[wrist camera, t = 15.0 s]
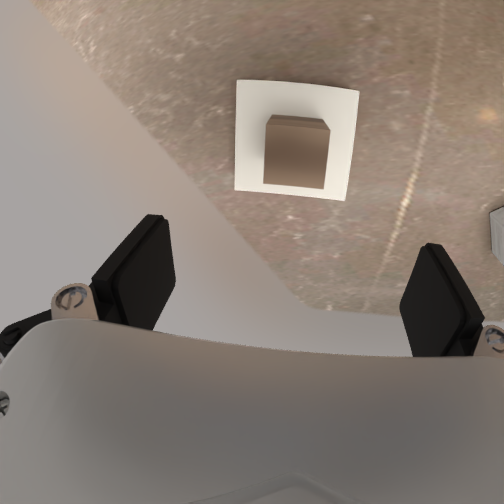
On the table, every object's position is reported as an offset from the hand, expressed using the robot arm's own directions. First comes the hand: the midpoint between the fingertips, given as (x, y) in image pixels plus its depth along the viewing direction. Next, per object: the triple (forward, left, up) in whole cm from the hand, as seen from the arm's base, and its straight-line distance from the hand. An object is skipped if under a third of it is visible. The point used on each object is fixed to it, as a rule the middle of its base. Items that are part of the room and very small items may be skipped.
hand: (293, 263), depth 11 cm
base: (0, 0, -26) cm, 26 cm away
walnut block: (0, 0, -22) cm, 22 cm away
